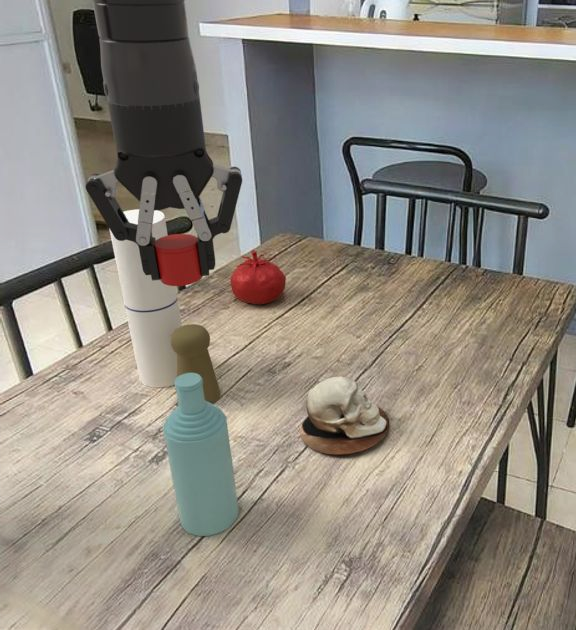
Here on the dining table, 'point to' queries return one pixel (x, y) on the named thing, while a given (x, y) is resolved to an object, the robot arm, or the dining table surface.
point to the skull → (342, 418)
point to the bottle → (200, 460)
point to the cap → (178, 259)
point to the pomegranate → (257, 280)
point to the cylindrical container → (148, 309)
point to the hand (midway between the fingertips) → (180, 274)
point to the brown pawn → (195, 357)
